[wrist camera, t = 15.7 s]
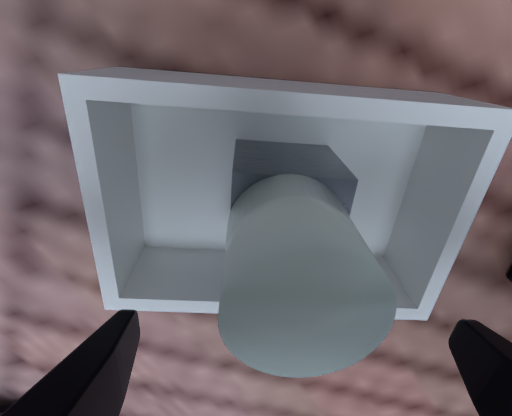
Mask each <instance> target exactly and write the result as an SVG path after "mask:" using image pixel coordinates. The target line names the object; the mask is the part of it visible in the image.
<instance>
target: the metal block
mask: <svg viewBox="0 0 512 416" xmlns="http://www.w3.org/2000/svg"><path fill="white" fill-rule="evenodd" d="M282 174H297V175H303V176H307V177H311V178H313V179H316V180H318V181H319V182H321V183H323V184H324V185H326V186H327V187H328V188H330V189H331V190H332V192H333V193H334V194H335V195H336V196H337V198H338V199H339V201H340V203H341V204H342V206H343V207H344V209H345V210H346V212H347V214H348V215H349V216H350V212H351V208H352V204H353V200H354V196H355V192H356V188H357V184H358V179H357V178H356V177H355V176H354V174H353V173H352V172H351V171H350V170H349V169H348V168H347V166H346V165H345V164H344V163H343V162H342V161H341V160H340V158H339V157H338V156H337V155H336V154H335V153H334V152H333V150H332V149H331V148H330V147H329V146H328V145H314V144H299V143H285V142H271V141H256V140H242V139H236V142H235V151H234V160H233V169H232V186H231V209H232V207H233V205H234V203H235V202H236V200H237V199H238V198H239V197H240V195H241V194H242V193H243V192H244V191H245V190H247V189H248V188H249V187H250V186H252V185H253V184H255V183H257V182H259V181H261V180H263V179H266V178H268V177H272V176H276V175H282ZM231 209H230V211H231Z"/></svg>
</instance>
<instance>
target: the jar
mask: <svg viewBox="0 0 512 416" xmlns="http://www.w3.org/2000/svg"><path fill="white" fill-rule="evenodd" d="M396 307H397V306H396V296H395V292H394V289H393V287H392V285H391V282H390V281H389V279H388V277H387V276H386V274H385V273H384V271H383V269H382V268H381V266H380V265H379V263H378V262H377V260H376V258H375V257H374V255H373V254H372V252H371V250H370V249H369V247H368V246H367V244H366V242H365V241H364V239H363V238H362V236H361V234H360V233H359V231H358V230H357V228H356V226H355V225H354V223H353V222H352V220H351V218H350V217H349V215H348V214H347V212H346V210H345V209H344V207H343V206H342V204H341V203H340V201H339V199H338V198H337V196H336V195H335V194H334V193H333V192H332V190H331V189H330V188H328V187H327V186H326V185H324V184H323V183H321V182H319V181H318V180H316V179H313V178H311V177H307V176H303V175H297V174H282V175H276V176H272V177H268V178H266V179H263V180H261V181H259V182H257V183H255V184H253V185H252V186H250V187H249V188H248V189H247V190H245V191H244V192H243V193H242V194H241V195H240V197H239V198H238V199H237V200H236V202H235V203H234V205H233V207H232V209H231V211H230V214H229V218H228V225H227V234H226V244H225V253H224V263H223V272H222V282H221V291H220V301H219V310H218V328H219V332H220V335H221V337H222V340H223V342H224V343H225V345H226V346H227V348H228V349H229V350H230V352H231V353H232V354H233V355H234V356H235V357H237V358H238V359H239V360H240V361H242V362H243V363H245V364H246V365H248V366H250V367H252V368H254V369H256V370H259V371H261V372H264V373H268V374H272V375H276V376H283V377H313V376H319V375H324V374H328V373H332V372H336V371H338V370H341V369H344V368H346V367H348V366H350V365H353V364H355V363H356V362H358V361H360V360H361V359H363V358H364V357H366V356H367V355H368V354H370V353H371V352H372V351H373V350H374V349H376V348H377V347H378V346H379V345H380V343H381V342H382V341H383V340H384V339H385V337H386V336H387V334H388V333H389V331H390V329H391V327H392V325H393V322H394V319H395V315H396Z"/></svg>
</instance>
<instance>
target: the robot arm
mask: <svg viewBox="0 0 512 416" xmlns="http://www.w3.org/2000/svg"><path fill="white" fill-rule="evenodd" d="M507 278H508V279H509V280H510V281H511V282H512V268H511V270H510V272H509V274H508V276H507ZM139 339H140V327H139V319H138V313H137V311H136V310H129V309H122V310H119V311H118V312H117V313H116V314H115V315H113V316H112V317H111V318H110V319H109V320H108V321H107V322H105V323H104V324H103V325H102V326H101V327H100V328H99V329H98V330H96V331H95V332H94V333H93V334H92V335H91V336H90V337H88V338H87V339H86V340H85V341H84V342H83V343H82V344H81V345H79V346H78V347H77V348H76V349H75V350H74V351H73V352H71V353H70V354H69V355H68V356H67V357H66V358H65V359H64V360H62V361H61V362H60V363H59V364H58V365H57V366H56V367H54V368H53V369H52V370H51V371H50V372H49V373H48V374H47V375H45V376H44V377H43V378H42V379H41V380H40V381H39V382H37V383H36V384H35V385H34V386H33V387H32V388H31V389H30V390H28V391H27V392H26V393H25V394H24V395H23V396H22V397H20V398H19V399H18V400H17V401H16V402H15V403H14V404H12V405H11V406H10V407H9V408H8V409H7V410H6V411H5V412H3V413H2V414H1V415H0V416H119V414H120V411H121V408H122V405H123V402H124V399H125V395H126V391H127V387H128V383H129V379H130V375H131V371H132V367H133V363H134V359H135V355H136V351H137V347H138V343H139ZM449 348H450V350H451V353H452V355H453V357H454V360H455V362H456V365H457V367H458V369H459V372H460V374H461V376H462V379H463V381H464V384H465V386H466V388H467V391H468V393H469V395H470V398H471V400H472V402H473V404H474V406H475V408H476V410H477V412H478V414H479V416H512V343H511V342H510V341H508V340H507V339H505V338H503V337H502V336H500V335H499V334H497V333H496V332H494V331H492V330H491V329H489V328H488V327H486V326H485V325H483V324H481V323H480V322H478V321H476V320H466V319H462V320H459V321H458V322H457V324H456V326H455V328H454V330H453V332H452V334H451V335H450V337H449Z"/></svg>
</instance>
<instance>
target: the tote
mask: <svg viewBox="0 0 512 416" xmlns="http://www.w3.org/2000/svg"><path fill="white" fill-rule="evenodd" d="M58 79H59V84H60V89H61V94H62V99H63V104H64V109H65V114H66V119H67V124H68V129H69V134H70V139H71V144H72V149H73V154H74V159H75V164H76V169H77V174H78V179H79V184H80V189H81V194H82V199H83V204H84V209H85V214H86V219H87V224H88V229H89V234H90V239H91V244H92V249H93V254H94V259H95V264H96V269H97V274H98V279H99V284H100V289H101V294H102V299H103V304H104V309H105V310H122V309H129V310H136V311H161V312H191V313H218V310H219V301H220V291H221V282H222V272H223V263H224V253H225V244H226V234H227V225H228V218H229V214H230V209H231V186H232V169H233V160H234V151H235V142H236V139H242V140H256V141H271V142H285V143H299V144H314V145H328V146H329V147H330V148H331V149H332V150H333V152H334V153H335V154H336V155H337V156H338V157H339V158H340V160H341V161H342V162H343V163H344V164H345V165H346V166H347V168H348V169H349V170H350V171H351V172H352V173H353V174H354V176H355V177H356V178H357V179H358V184H357V188H356V192H355V196H354V200H353V204H352V208H351V212H350V216H349V217H350V218H351V220H352V222H353V223H354V225H355V226H356V228H357V230H358V231H359V233H360V234H361V236H362V238H363V239H364V241H365V242H366V244H367V246H368V247H369V249H370V250H371V252H372V254H373V255H374V257H375V258H376V260H377V262H378V263H379V265H380V266H381V268H382V269H383V271H384V273H385V274H386V276H387V277H388V279H389V281H390V282H391V285H392V287H393V289H394V292H395V296H396V306H397V307H396V315H395V319H401V320H428V318H429V316H430V313H431V311H432V309H433V307H434V305H435V303H436V300H437V298H438V296H439V294H440V292H441V290H442V287H443V285H444V283H445V281H446V279H447V276H448V274H449V272H450V270H451V268H452V266H453V263H454V261H455V259H456V257H457V255H458V252H459V250H460V248H461V246H462V244H463V242H464V239H465V237H466V235H467V233H468V231H469V228H470V226H471V224H472V222H473V220H474V218H475V215H476V213H477V211H478V209H479V207H480V205H481V202H482V200H483V198H484V196H485V194H486V191H487V189H488V187H489V185H490V183H491V181H492V178H493V176H494V174H495V172H496V170H497V167H498V165H499V163H500V161H501V159H502V157H503V154H504V152H505V150H506V148H507V146H508V144H509V141H510V139H511V137H512V108H510V107H505V106H500V105H496V104H491V103H486V102H481V101H477V100H472V99H467V98H463V97H458V96H453V95H448V94H444V93H436V92H424V91H411V90H399V89H387V88H375V87H362V86H350V85H338V84H325V83H313V82H301V81H289V80H276V79H264V78H252V77H239V76H227V75H215V74H203V73H190V72H178V71H166V70H154V69H141V68H129V67H109V68H101V69H92V70H84V71H75V72H67V73H58Z"/></svg>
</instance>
